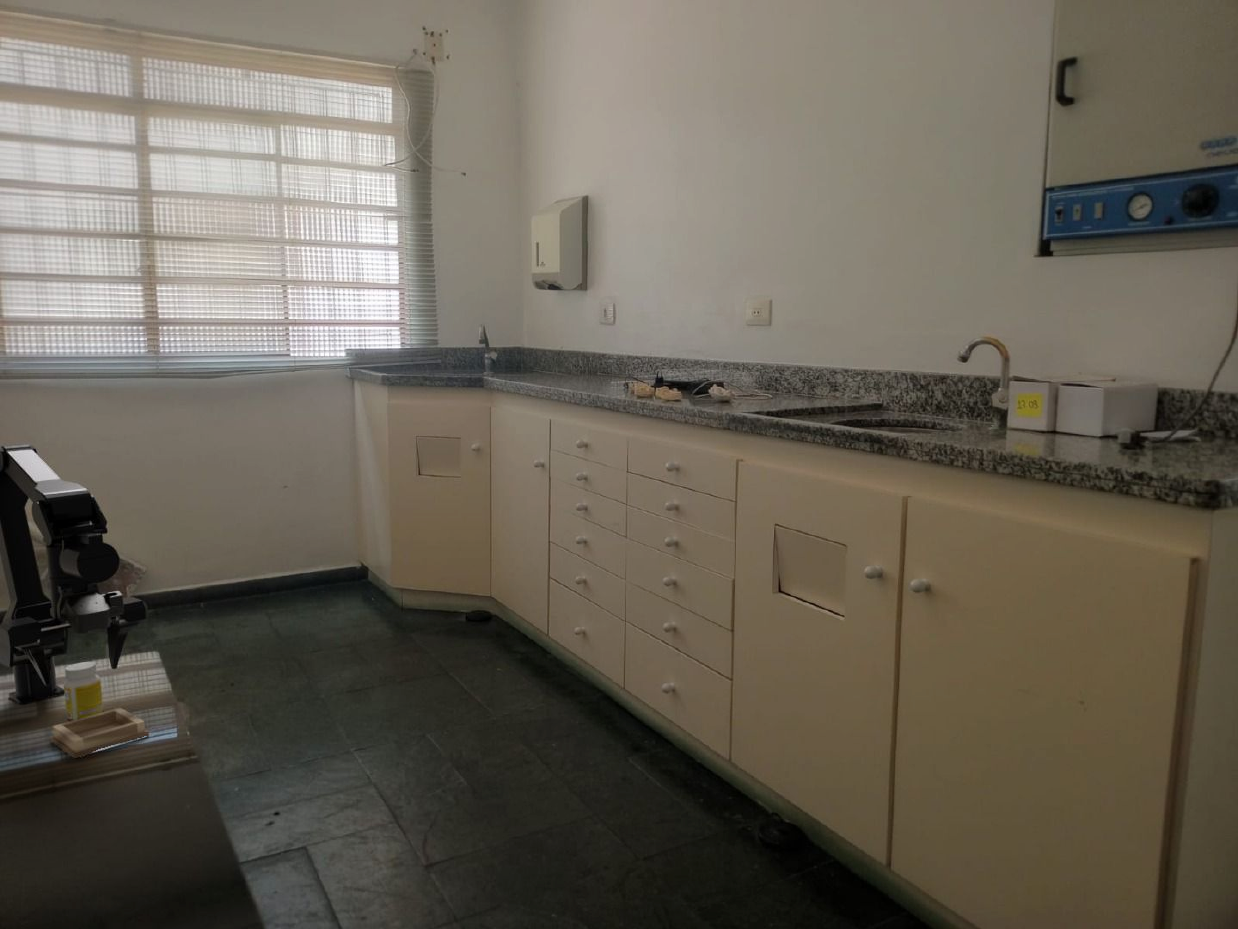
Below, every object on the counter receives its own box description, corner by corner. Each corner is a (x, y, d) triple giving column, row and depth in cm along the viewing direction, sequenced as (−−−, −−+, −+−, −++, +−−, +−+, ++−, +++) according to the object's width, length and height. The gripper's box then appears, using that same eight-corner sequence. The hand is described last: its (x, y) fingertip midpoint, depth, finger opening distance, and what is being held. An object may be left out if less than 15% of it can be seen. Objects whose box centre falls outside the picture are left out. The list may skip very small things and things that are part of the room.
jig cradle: (51, 742, 134) (49, 726, 134) (122, 721, 141) (121, 706, 141) (75, 759, 128) (73, 742, 128) (148, 736, 135) (147, 721, 135)
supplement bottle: (111, 714, 145) (105, 661, 144) (90, 726, 140) (85, 671, 139) (81, 714, 145) (76, 661, 144) (60, 726, 140) (54, 671, 140)
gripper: (16, 595, 128) (28, 707, 130) (158, 569, 142) (167, 671, 143) (-9, 583, 135) (3, 689, 137) (129, 560, 149) (138, 657, 151)
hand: (81, 676), depth 142 cm, fingers open, 9 cm apart
